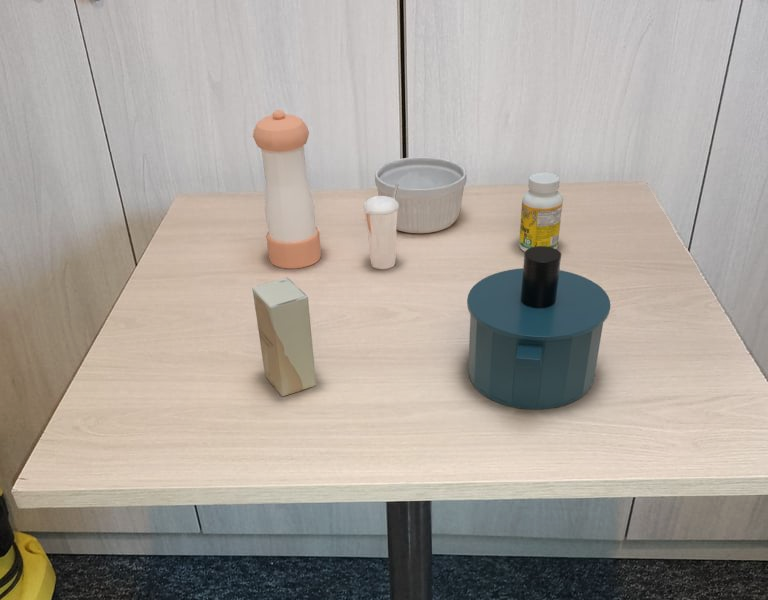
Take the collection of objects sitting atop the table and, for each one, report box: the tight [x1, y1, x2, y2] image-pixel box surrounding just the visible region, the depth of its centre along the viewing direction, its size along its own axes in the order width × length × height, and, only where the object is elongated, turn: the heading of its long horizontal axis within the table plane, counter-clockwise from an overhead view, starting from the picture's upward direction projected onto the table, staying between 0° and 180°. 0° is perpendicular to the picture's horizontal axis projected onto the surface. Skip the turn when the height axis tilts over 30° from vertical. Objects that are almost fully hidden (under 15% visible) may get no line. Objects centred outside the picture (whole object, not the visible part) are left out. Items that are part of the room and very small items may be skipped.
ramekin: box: [374, 156, 467, 234], centre depth 119 cm, size 13×13×7 cm
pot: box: [467, 313, 604, 410], centre depth 87 cm, size 14×19×8 cm
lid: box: [466, 246, 611, 341], centre depth 82 cm, size 15×15×6 cm
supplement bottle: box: [518, 171, 564, 253], centre depth 110 cm, size 5×5×10 cm
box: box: [252, 277, 317, 397], centre depth 87 cm, size 5×4×11 cm
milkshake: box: [363, 184, 399, 270], centre depth 108 cm, size 4×5×10 cm
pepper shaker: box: [252, 109, 322, 269], centre depth 107 cm, size 7×7×19 cm
